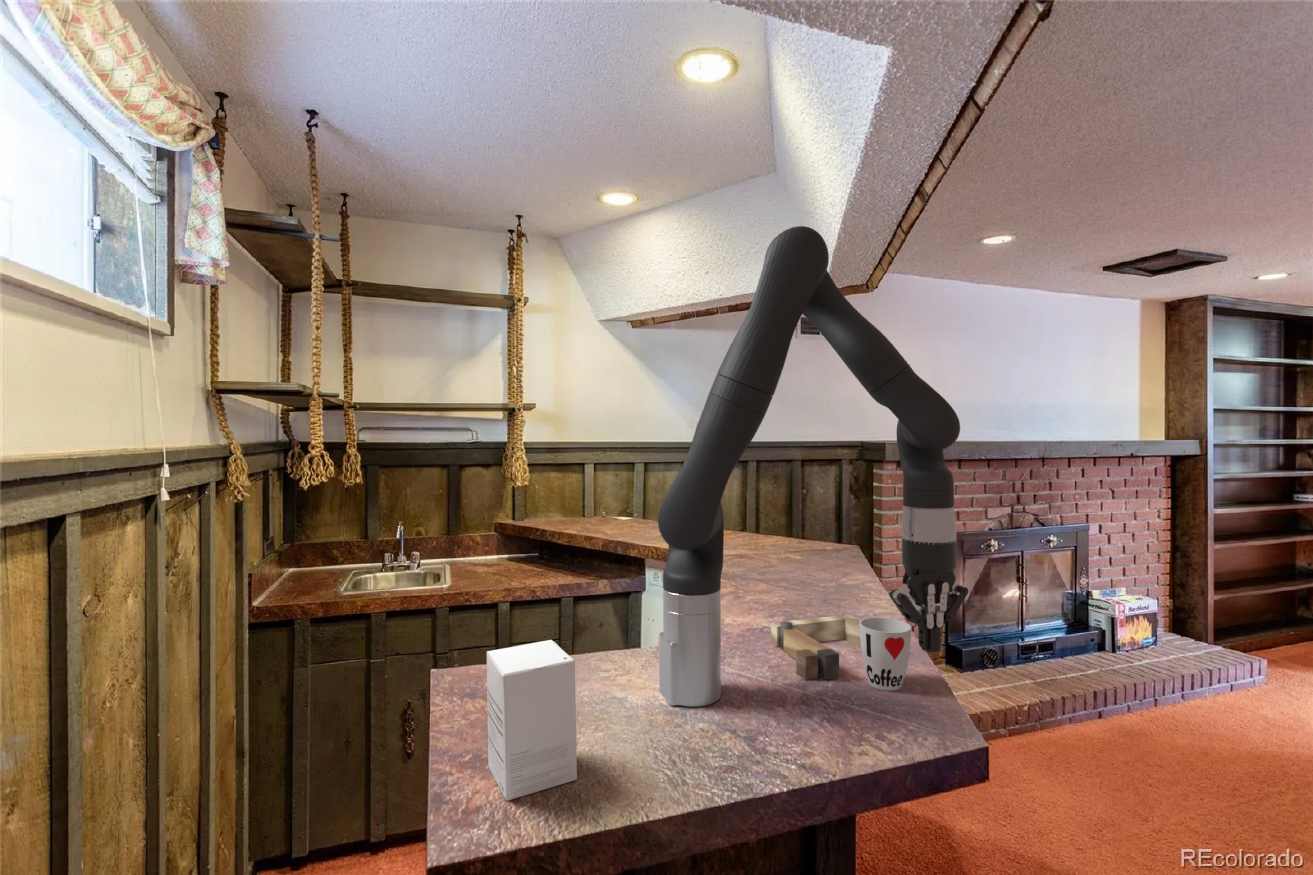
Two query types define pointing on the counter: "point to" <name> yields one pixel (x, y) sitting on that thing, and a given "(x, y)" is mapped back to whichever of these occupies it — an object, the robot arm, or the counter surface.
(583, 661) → the counter surface
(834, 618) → the jointed wooden sticks
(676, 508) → the robot arm
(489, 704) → the supplement box
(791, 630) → the leg
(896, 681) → the cup
